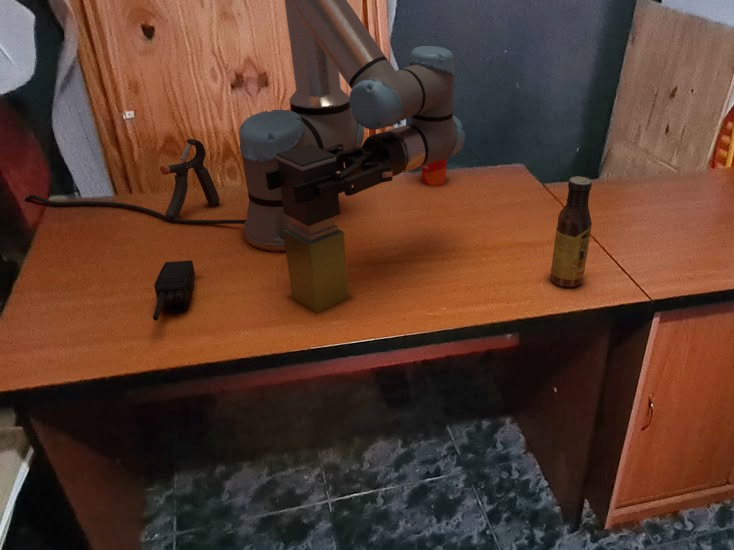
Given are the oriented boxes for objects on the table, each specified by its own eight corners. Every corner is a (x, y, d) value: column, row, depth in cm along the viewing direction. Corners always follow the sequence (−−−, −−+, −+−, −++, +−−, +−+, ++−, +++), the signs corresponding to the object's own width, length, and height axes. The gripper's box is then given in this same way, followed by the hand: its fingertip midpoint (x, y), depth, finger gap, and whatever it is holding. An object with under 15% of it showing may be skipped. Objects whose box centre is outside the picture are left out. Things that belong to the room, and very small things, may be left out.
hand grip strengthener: (164, 221, 142) (147, 149, 133) (214, 202, 150) (201, 133, 141) (171, 224, 141) (154, 152, 132) (221, 205, 149) (208, 136, 141)
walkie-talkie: (206, 265, 124) (194, 316, 108) (185, 289, 126) (170, 343, 109) (175, 244, 121) (158, 293, 105) (154, 269, 122) (134, 321, 106)
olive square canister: (291, 297, 121) (280, 213, 112) (323, 283, 126) (315, 201, 116) (316, 313, 118) (307, 227, 108) (348, 298, 122) (342, 214, 112)
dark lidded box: (283, 213, 112) (275, 153, 106) (315, 202, 116) (309, 143, 110) (308, 226, 108) (301, 165, 102) (340, 214, 112) (336, 155, 106)
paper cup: (421, 173, 170) (421, 116, 161) (451, 176, 169) (453, 119, 161) (414, 185, 164) (414, 126, 155) (446, 189, 163) (447, 130, 155)
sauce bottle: (581, 291, 128) (597, 190, 116) (547, 286, 129) (560, 185, 117) (583, 274, 133) (599, 176, 122) (551, 269, 134) (564, 171, 122)
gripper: (432, 190, 117) (323, 231, 103) (357, 158, 127) (248, 192, 112) (432, 146, 113) (319, 183, 98) (354, 117, 122) (241, 147, 108)
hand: (281, 188), depth 105 cm, fingers closed on dark lidded box, 6 cm apart
